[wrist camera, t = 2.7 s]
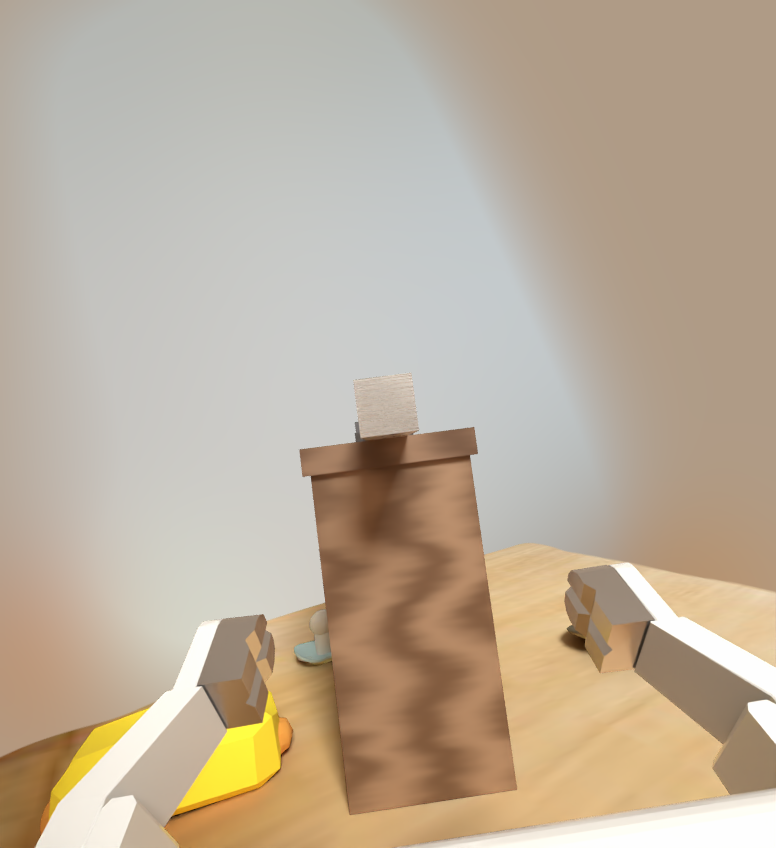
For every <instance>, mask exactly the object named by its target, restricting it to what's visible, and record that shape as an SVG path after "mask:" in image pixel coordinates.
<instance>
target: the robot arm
mask: <svg viewBox="0 0 776 848" xmlns="http://www.w3.org/2000/svg"><path fill="white" fill-rule="evenodd" d="M567 581H568V582H569V584H570V585H571V587H570V588H569V589H568V590H567V591H566V592H565V606H566V611H567V614H568V616H569V619H570V621H571V623H572V625H573V627H574V628H575V630H576V631H578V632H579V633H581V634H582V635H583V636H585V637H586V640H585V648H586V650H587V651H588V653H589V655H590V657H591V658H592V660H593V662H594V664H595V665H596V667H597V669H598V670H599V672H600V673H606V672H615V671H624V670H632V669H635V672H636V673H637V674H638V675H639V676H641V677H642V678H643V679H644V680H646V681H647V682H648V683H649V684H650V685H652V686H653V687H654V688H655V689H656V690H658V691H659V692H660V693H661V694H663V695H664V696H665V697H666V698H667V699H669V700H670V701H671V702H672V703H673V704H675V705H676V706H677V707H678V708H680V709H681V710H682V711H683V712H684V713H686V714H687V715H688V716H689V717H690V718H692V719H693V720H694V721H695V722H697V723H698V724H699V725H700V726H701V727H703V728H704V729H705V730H706V731H707V732H709V733H710V734H711V735H712V736H714V737H715V738H716V739H717V740H718V741H720V742H721V743H722V744H723V746H722V747H721V749H720V751H719V752H718V754H717V756H716V757H715V759H714V762H713V770H714V771H715V773H716V774H717V776H718V777H719V779H720V780H721V782H722V783H723V785H724V786H725V788H726V789H727V791H728V792H729V794H730V795H726V796H720V797H713V798H707V799H700V800H694V801H688V802H681V803H675V804H669V805H662V806H656V807H649V808H643V809H637V810H630V811H624V812H618V813H611V814H605V815H598V816H592V817H586V818H579V819H573V820H567V821H560V822H554V823H547V824H541V825H535V826H528V827H522V828H515V829H509V830H503V831H496V832H490V833H484V834H477V835H471V836H464V837H458V838H452V839H445V840H439V841H433V842H426V843H420V844H413V845H407V846H401V847H394V848H776V668H775V667H773V666H772V665H770V664H768V663H766V662H765V661H763V660H761V659H759V658H757V657H756V656H754V655H752V654H750V653H748V652H747V651H745V650H743V649H741V648H739V647H738V646H736V645H734V644H732V643H730V642H729V641H727V640H725V639H723V638H721V637H720V636H718V635H716V634H714V633H713V632H711V631H709V630H707V629H705V628H704V627H702V626H700V625H698V624H696V623H695V622H693V621H691V620H689V619H687V618H686V617H677V615H676V614H675V613H674V612H673V611H672V610H671V609H670V607H669V606H668V605H667V604H666V603H665V602H664V600H663V599H662V598H661V597H660V596H659V595H658V594H657V592H656V591H655V590H654V589H653V588H652V587H651V586H650V584H649V583H648V582H647V581H646V580H645V579H644V578H643V576H642V575H641V574H640V573H639V572H638V571H637V569H636V568H635V567H634V566H633V565H631V564H630V563H620V564H614V565H608V566H607V565H603V566H597V567H590V568H584V569H578V570H571V572H570V573H569V574H568V580H567ZM266 625H267V621H266V619H265V617H264V615H263V614H262V615H254V616H244V617H235V618H226V619H219V620H211V621H203V622H202V623H201V625H200V626H199V627H198V629H197V631H196V634H195V636H194V638H193V641H192V643H191V646H190V648H189V651H188V653H187V655H186V658H185V660H184V663H183V665H182V668H181V670H180V672H179V675H178V677H177V680H176V682H175V685H174V687H173V689H172V690H170V691H166V692H165V693H164V694H163V695H162V696H161V697H160V698H159V699H158V700H157V701H156V702H155V703H154V704H153V705H152V706H151V707H150V708H149V709H148V710H147V711H146V713H145V714H144V715H143V716H142V717H141V718H140V719H139V720H138V721H137V722H136V723H135V724H134V725H133V726H132V727H131V728H130V729H129V730H128V731H127V732H126V733H125V734H124V735H123V737H122V738H121V739H120V740H119V741H118V742H117V743H116V744H115V745H114V746H113V747H112V748H111V749H110V750H109V751H108V752H107V753H106V754H105V755H104V756H103V757H102V758H101V759H100V761H99V762H98V763H97V764H96V765H95V766H94V767H93V768H92V769H91V770H90V771H89V772H88V773H87V774H86V775H85V776H84V777H83V778H82V779H81V780H80V781H79V782H78V783H77V785H76V786H75V787H74V788H73V789H72V790H71V791H70V792H69V793H68V794H67V795H66V796H65V797H64V798H63V799H62V800H61V801H60V802H59V803H58V805H57V807H56V809H55V811H54V812H53V814H52V816H51V818H50V820H49V822H48V824H47V826H46V828H45V829H44V831H43V833H42V835H41V837H40V839H39V841H38V843H37V844H36V846H35V848H180V847H179V844H178V843H177V842H176V840H175V839H174V838H173V837H172V836H171V835H170V834H169V833H168V832H167V831H166V830H165V829H164V827H165V825H166V824H167V822H168V821H169V819H170V818H171V816H172V815H173V813H174V812H175V810H176V809H177V807H178V806H179V804H180V803H181V801H182V800H183V798H184V797H185V795H186V794H187V792H188V791H189V789H190V788H191V786H192V785H193V783H194V781H195V780H196V778H197V777H198V775H199V774H200V772H201V771H202V769H203V768H204V766H205V765H206V763H207V762H208V760H209V759H210V757H211V756H212V754H213V753H214V751H215V750H216V748H217V747H218V745H219V744H220V742H221V741H222V739H223V738H224V736H225V735H226V733H227V729H231V728H236V727H242V726H247V725H253V724H259V723H263V718H264V713H265V708H266V703H267V698H268V693H269V692H268V690H267V687H266V685H265V682H266V681H267V679H268V678H269V677H270V676H271V674H272V672H273V666H274V657H275V647H274V640H273V637H272V634H271V633H269V632H268V631H266V630H265V629H266Z"/></svg>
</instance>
